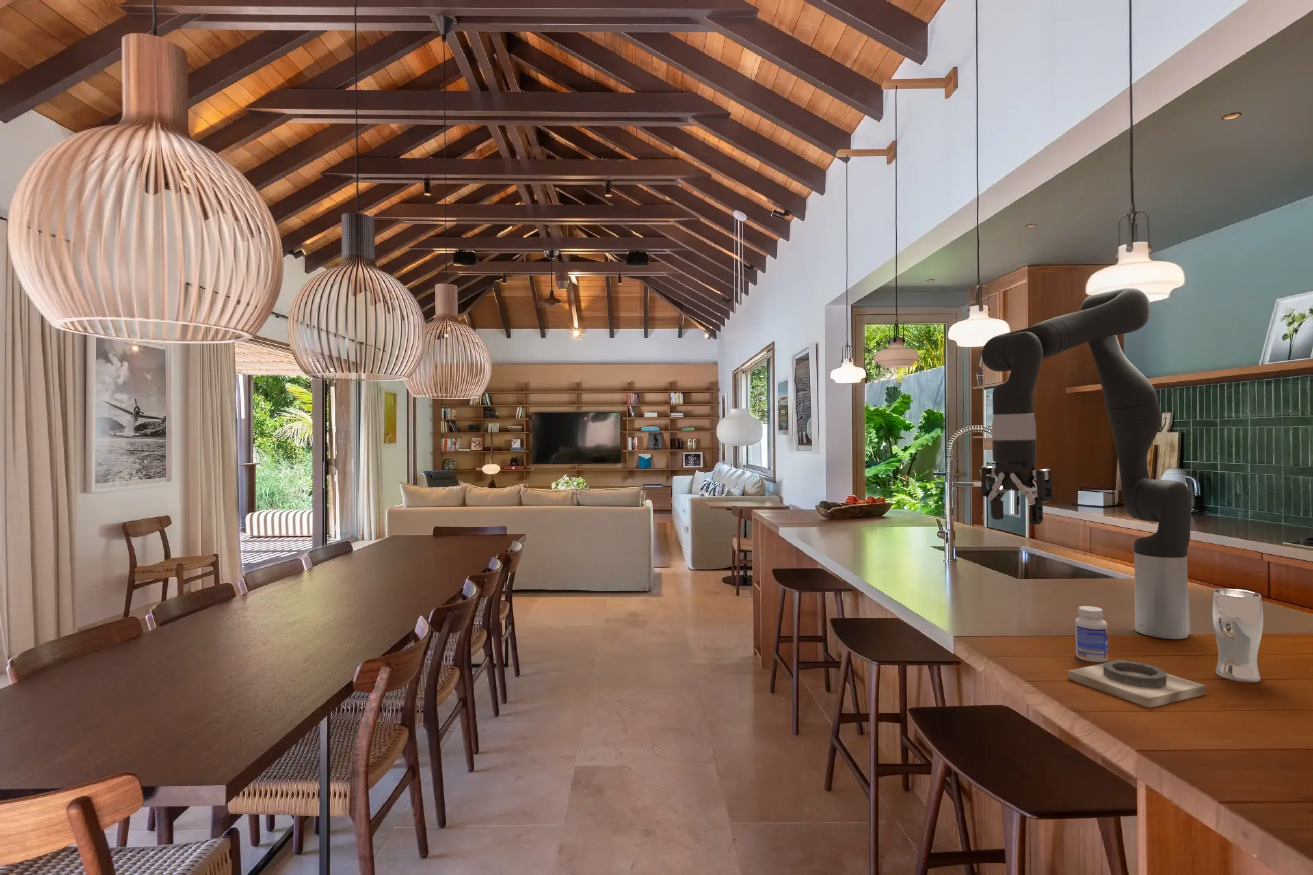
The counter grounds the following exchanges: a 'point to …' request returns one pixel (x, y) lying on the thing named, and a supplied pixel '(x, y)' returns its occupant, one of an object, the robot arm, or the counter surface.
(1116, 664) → the collar base
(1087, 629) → the pill bottle
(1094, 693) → the counter surface
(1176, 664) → the counter surface
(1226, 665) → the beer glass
